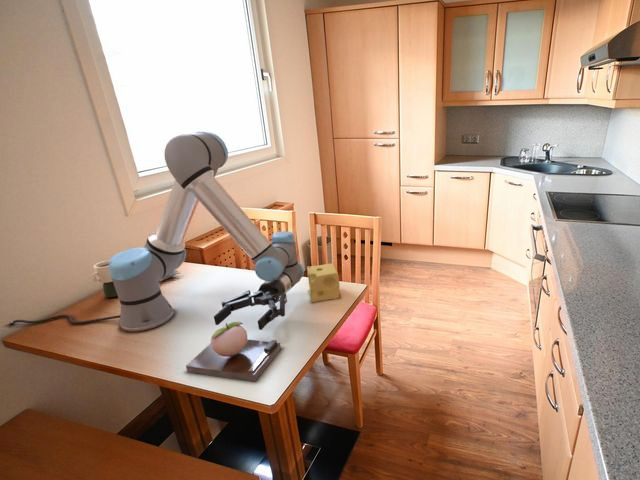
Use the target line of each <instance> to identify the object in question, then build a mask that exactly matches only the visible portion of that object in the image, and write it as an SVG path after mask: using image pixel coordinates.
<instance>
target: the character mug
mask: <svg viewBox="0 0 640 480" xmlns="http://www.w3.org/2000/svg"><path fill="white" fill-rule="evenodd" d="M109 261H110V259H109V260H103V261H100V262H97V263H95V264H94V265H93V270H94V272H93V273H91V278H92V281H93V282H94V283H97V282H99V283H100V284H101V283H102V289H103V294H104V297H105V298H115V297H118V295H117V292H116V289H115V286H114V283H113V280H112V278H111V276H110V270H109V266H108V264H109Z"/></svg>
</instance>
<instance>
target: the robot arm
mask: <svg viewBox="0 0 640 480" xmlns="http://www.w3.org/2000/svg"><path fill="white" fill-rule="evenodd" d="M163 153H164V162H165V165H166V167H167V169H168V171H169V173H170V174H171V175H172V177H173V179H174V182H173V184H172V187H171V189H170V193H169V195H168V197H167V201H166V203H165V206H164V209H163V211H162V214H161V216H160V219H159V222H158V224H157V227H156V230H155V231H152V232H150V233H149V234H148V236H147V238H146V241H145V243H144V246H143V247H134V248H128V249H126V250H122V251H120V252H118V253H116V254H115V255H114V256H112V257H111V258H110V259H109V260H110V261H109V260H108V261H109V264H108V266H109V270H110V276H111V278H112V280H113V283H114V286H115V289H116V292H117V295H118V296H117V297H118V300H119V303H120V314H119V315H111V316H107V317H100V318H94V319H93V318H92V319H88V320H79V321H78V320H73V317H72V315H70V314H65V313H64V314H56V315H54V316H53V315H52V316H50V317H46V318H42V319H37V320H26V319H14V320H12V321H13V323H11V322H9V324H8V326H9V327H10V326H13V325H14V324H16V323H25V324H40V323H43V322H47V321H52V320H54V319H58V318H68V320H69V322H70V323H71V324H75V325H80V324H89V323H96V322H101V321H107V320H108V321H109V320H113V319H119V325H120V328H121V330H122V331H124V332H129V333H137V332H145V331H148V330H152V329H155V328H157V327H159V326H162V325H164V324H166V323H167V322H168V321H170V320H171V319H172V318H173V316H174V313H175V312H174V309H173V306H172V304H170V303H169V301H168V300H167V298H166V297H165V296H164V295H163V293H162V289H161V286H160V281H159V280H161V279H162V278H163V277H165V276H166V275H168V274H169V273H170V272H172V271H174V270H177V269H178V268H180V267H181V266H182V264H183V263H184V262H185V260H186V257H187V250H186V242H185V240H184V238H185V236H186V234H187V231H188V229H189V226H190V224H191V222H192V219H193V218H194V217H193V216H194V214H195V212H196V210H197V207H198V205H199V202H200V204H201V205H202V206H203V207H204V208H205V209H206V211H208V212H209V214H210V215H211V216H212V217H213V218H214V219H215V220H216V222H218V224H219V225H220V226H221V227H222V228H223V229H224V231H225V232H226V233H227V234H228V235H229V236H230V237H231V239H232V240H233V241H234V242H235V243H236V244H237V245H238V246H239V247H240V248H241V250H242V251H244V253H245V254H246V255H247V256H248V257H249V258H250V260H252V262H253V263H254V264H255V265H254V272H255V275H256V277H258V278H259V279H260V280H262V281H264V282H263V283H261V284H260V285H259V288H258V290H257V291H255V292H251V290H246V291H244V292H243V293H241V294H239V295H236V296H233V297H231V298H229V299H226V300H223V301H222V302H221V309H220V310H218V312H217V313H216V314H215V315H214V316H213V320H214V324H215V326H219V325H220V324H221V323H222V322H223V321H224V320H226V319H227V318H228V317H229V316H230V315H231V314H232V312H234V311H238V310H240V309H244V308H246V307H254V306H267V307H268V308H269V309H268V310H266V312H265V313H264V314H263V315H262V316H261V317H260V318H259V319H258V320H257V326H258V330H259V331H262V330H263V329H264V328H265V327H266V326H267V325H268V324H269V323H270V322H272V321H273V320H275V319H276V318H278V317H279V316H280V317H285V316H286V304H287V302H288V298H287V293H289V292H290V291H291V289H293V288H294V287H295V286H296V284H298V283H299V282H300V281H301V279H302V278H303V277H304V275H305V269H304V266H303V265H302V264H301V262H299V261H298V254H297V253H298V252H297V245H296V243H297V242H296V238H295V234H294V232H292V231H287V230H286V231H285V230H284V231H277V232H275V233H273V234H272V235H271V237H270V238H271V241H269V239H267V237H266V236H265V235H264V234H263V232H262V231H261V230H260V229H259V227H257V225H255V223H254V222H253V221H252V220H251V218H250V217H249V216H248V214H246V212H244V210H243V209H242V208H241V206H240V205H239V204H238V203H237V202H236V201H235V199H233V197H232V196H231V195H230V194H229V193H228V191H227V190H226V189H225V188H224V187H223V185H222V184H221V183H220V182H219V181H218V180H217V178H216V175H217V173H218V170H219V169H220V168H222V167H223V166H224V165H225V164H226V163H227V161H228V158H229V151H228V147H227V145H226V143H225V141H224V140H223V139H222V138H221V137H220V136H219V135H217V134H216V133H213V132H211V131H202V130H201V131H197V132H192V133H186V134H185V133H182V134H177V135H176V136H175V135H174V137H172V138H171V139H170V140H169V141H168V142H167V143H166V145H165V148H164V152H163ZM277 303H279V308H278V306H277V305H276V304H277Z"/></svg>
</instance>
